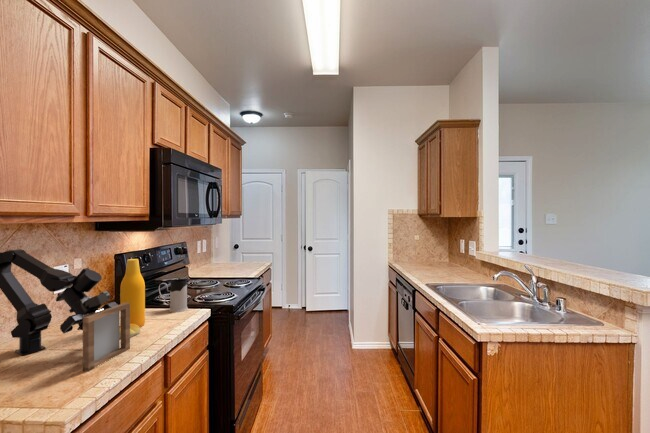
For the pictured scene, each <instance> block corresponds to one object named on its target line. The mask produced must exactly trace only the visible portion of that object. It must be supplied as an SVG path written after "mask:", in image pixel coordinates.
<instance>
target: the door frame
mask: <svg viewBox="0 0 650 433" xmlns="http://www.w3.org/2000/svg"><path fill="white" fill-rule="evenodd" d="M118 311H119V312H120V311H121V339H120V347H119V349H117V350H115V351H113V352H112V353H110V354H108V355H106V356H104V357H102V358H100V359H98V360H96V361H95V362H94V321H95V320H97V319H100V318H103V317H105V316H108V315H110V314H113V313H116V312H118ZM130 348H131V337H130V303H123V304H117V306H114V307H111V308H109V309H106V310H103V311H100V312H97V313H95V314H92V315H89V316H86V317H83V330H82V371H83V372H91V371H92V370H94V369H95V367H96V368H97V367H99V366H101V365H102V363H103V364H105V363H106V362H108V361H110V360H111V358H112V359H114V358H116V357H117V356H119V355H121V354H122V353H124V352H126V351H128V350H130ZM115 356H116V357H115ZM113 357H114V358H113ZM109 359H110V360H109ZM107 360H108V361H107ZM105 361H106V362H105ZM104 362H105V363H104ZM100 364H101V365H100ZM98 365H99V366H98Z"/></svg>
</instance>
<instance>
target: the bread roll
mask: <svg viewBox="0 0 650 433" xmlns="http://www.w3.org/2000/svg"><path fill="white" fill-rule="evenodd" d="M140 333H141V327H140V328H139V326H138V325H136V324H130V338H132V337H134V336H137V335H138V334H140ZM119 340H121V327H120V326H119Z"/></svg>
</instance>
